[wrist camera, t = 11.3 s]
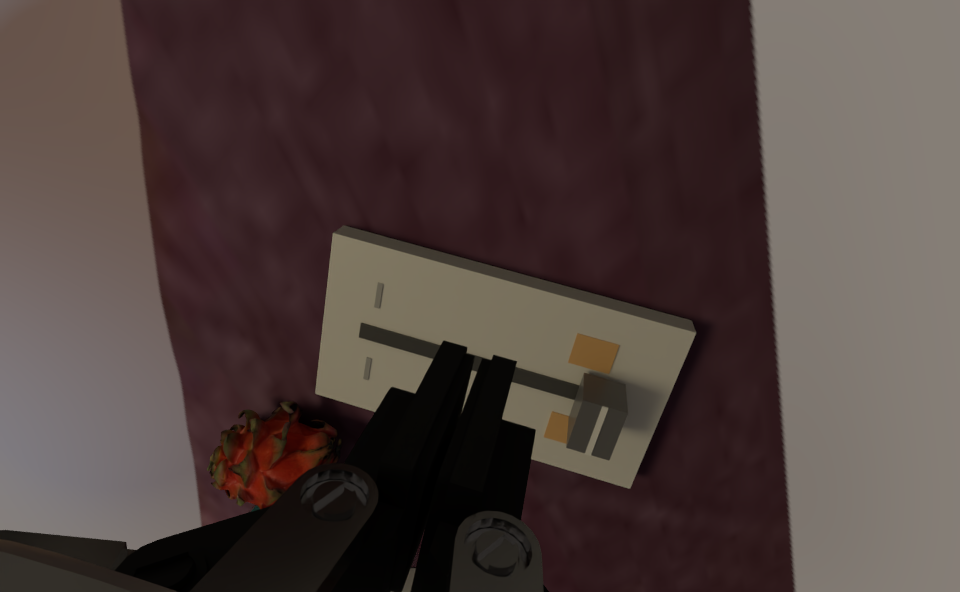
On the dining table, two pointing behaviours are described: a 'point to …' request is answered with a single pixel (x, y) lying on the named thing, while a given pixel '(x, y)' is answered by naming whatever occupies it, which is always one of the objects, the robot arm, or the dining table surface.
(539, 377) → the slider board
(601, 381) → the fader
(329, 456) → the dragon fruit
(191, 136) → the dining table surface
